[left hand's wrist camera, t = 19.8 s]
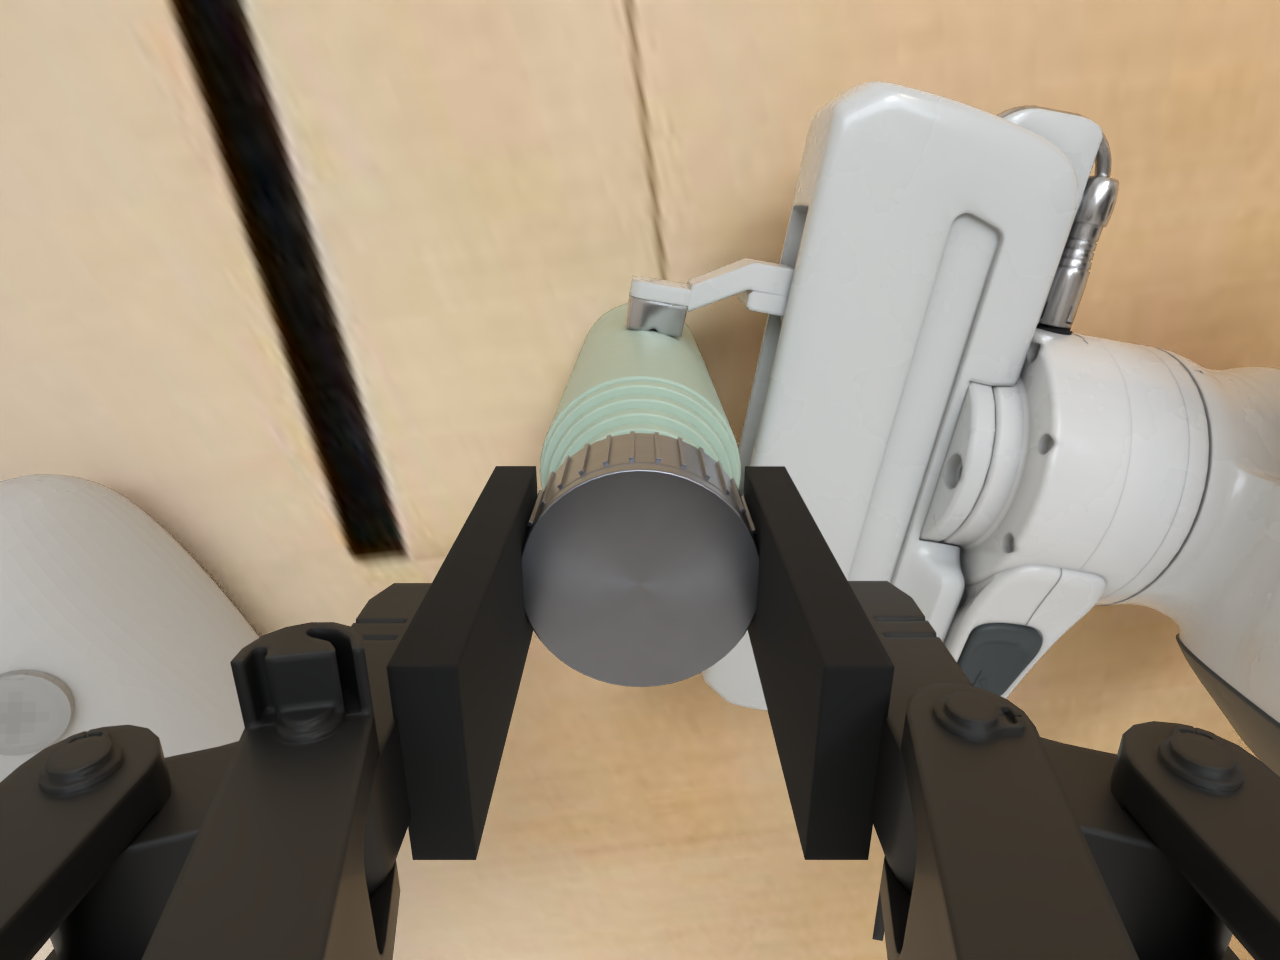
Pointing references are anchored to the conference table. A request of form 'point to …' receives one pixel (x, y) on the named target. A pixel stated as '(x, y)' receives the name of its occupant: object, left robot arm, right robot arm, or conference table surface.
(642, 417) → the bottle
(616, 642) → the cap
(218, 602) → the projector
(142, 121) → the conference table surface
